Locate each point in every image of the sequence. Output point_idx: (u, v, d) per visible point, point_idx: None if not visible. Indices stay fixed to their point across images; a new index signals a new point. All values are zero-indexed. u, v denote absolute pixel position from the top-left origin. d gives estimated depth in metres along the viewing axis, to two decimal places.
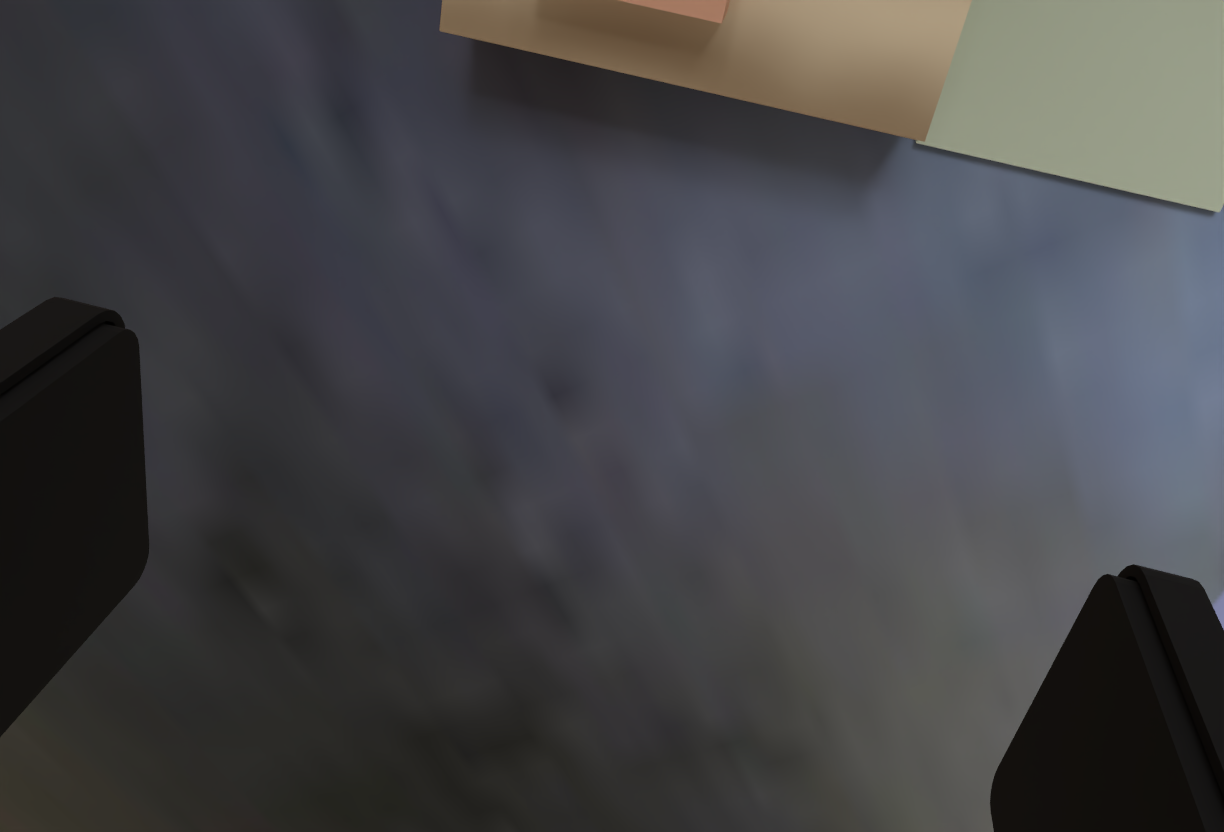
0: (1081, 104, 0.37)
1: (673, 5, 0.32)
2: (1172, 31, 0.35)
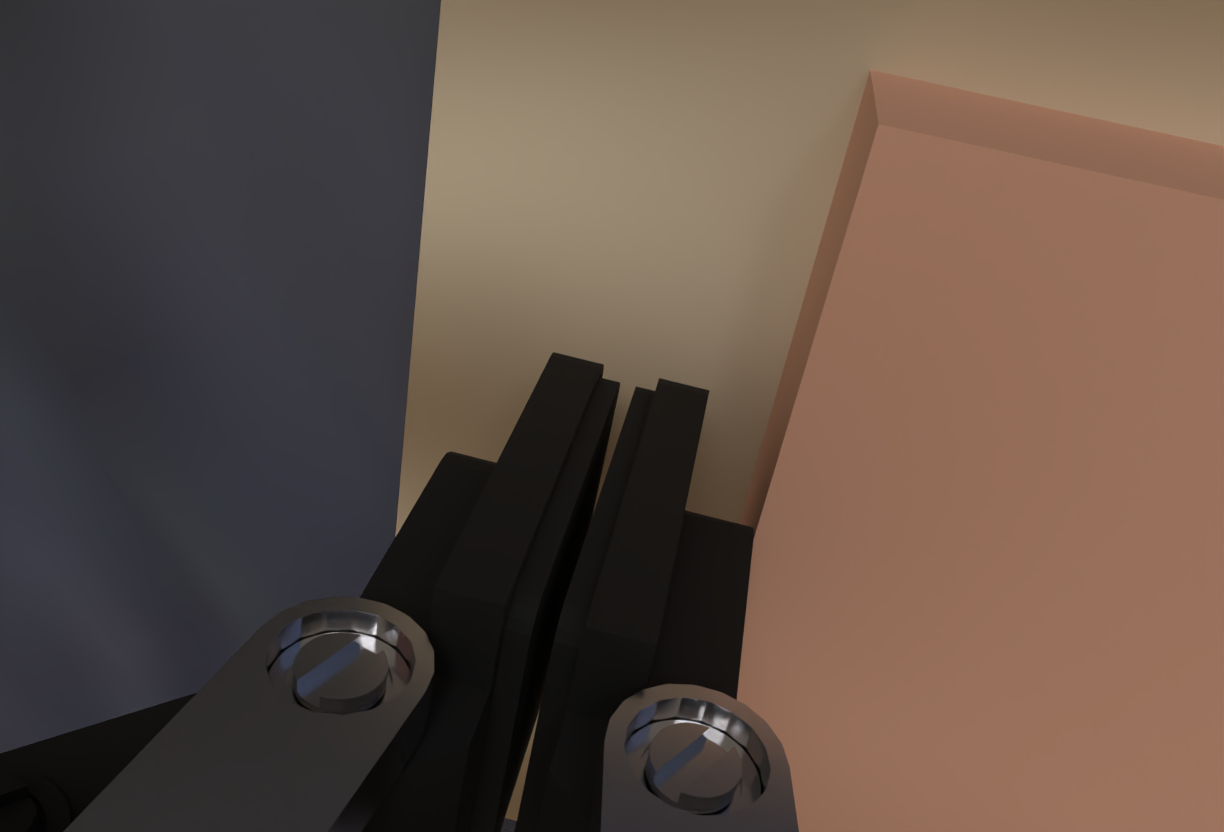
0: None
1: None
2: None
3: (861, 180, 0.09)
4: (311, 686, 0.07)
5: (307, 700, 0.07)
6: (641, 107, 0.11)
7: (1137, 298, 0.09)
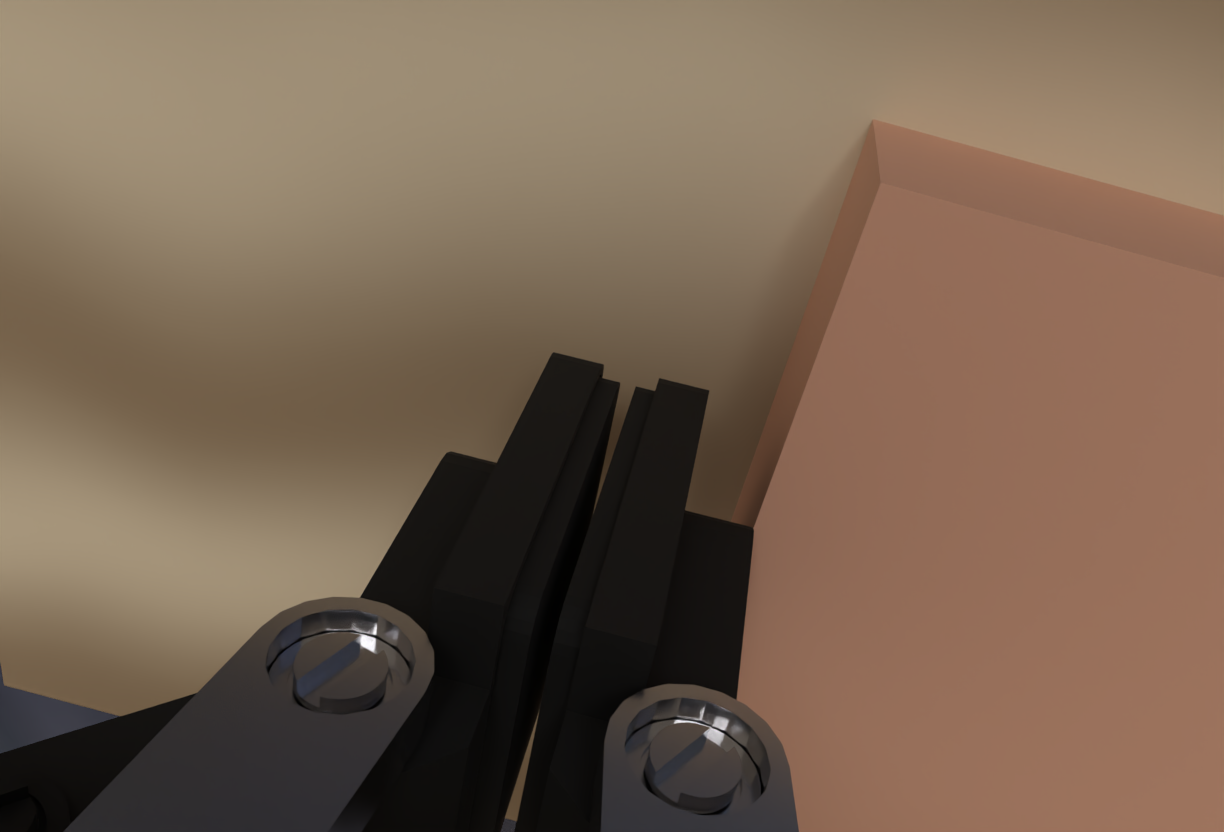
0: None
1: None
2: None
3: (861, 235, 0.09)
4: (311, 685, 0.07)
5: (307, 699, 0.07)
6: None
7: (1121, 362, 0.09)
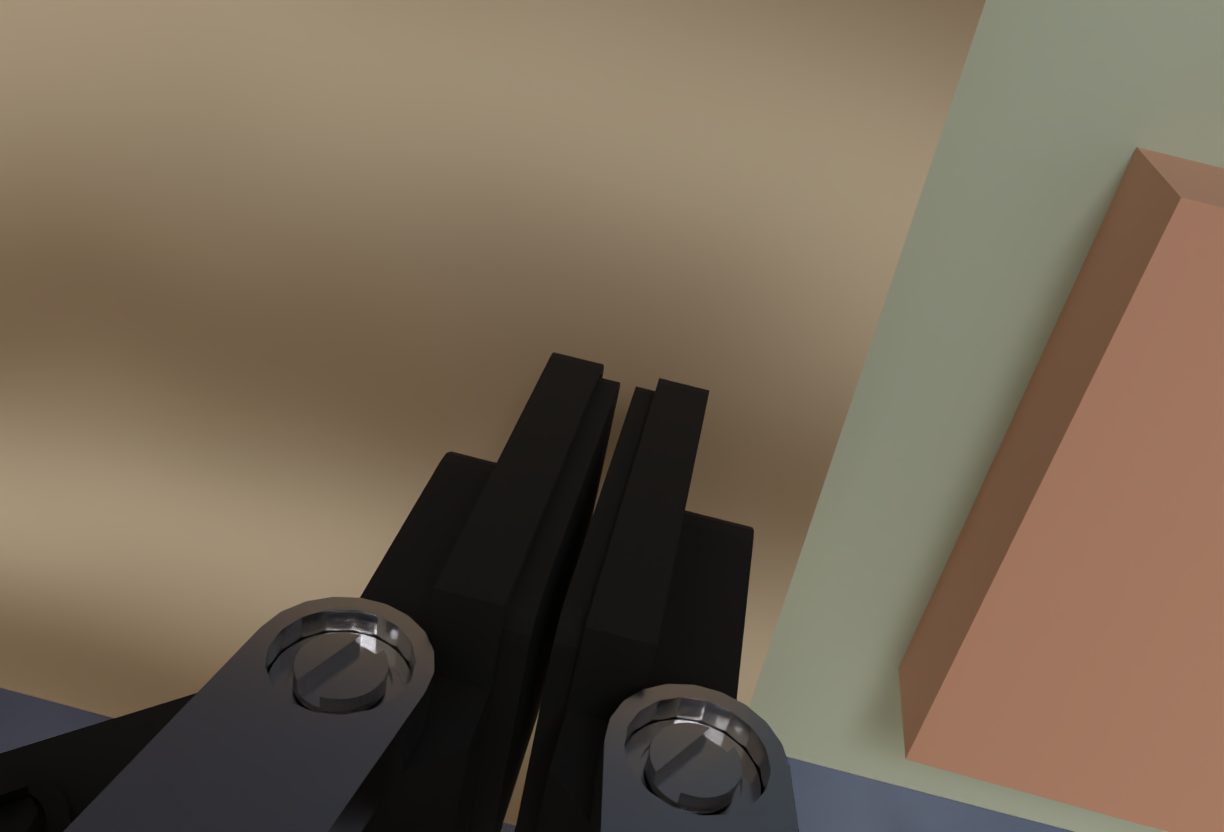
0: None
1: None
2: None
3: None
4: (311, 686, 0.07)
5: (307, 700, 0.07)
6: None
7: None
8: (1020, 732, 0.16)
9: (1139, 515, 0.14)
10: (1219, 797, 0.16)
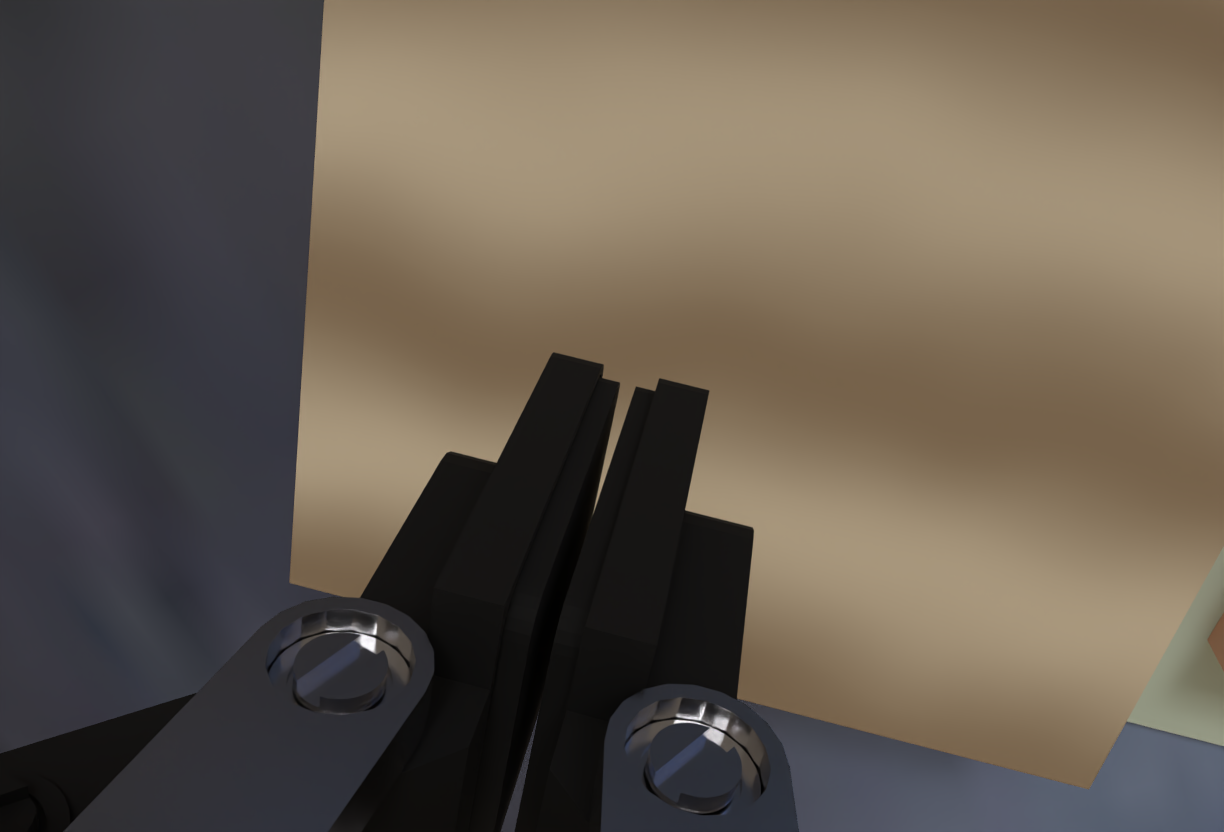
0: None
1: None
2: None
3: None
4: (311, 686, 0.07)
5: (307, 700, 0.07)
6: (453, 61, 0.17)
7: None
8: None
9: None
10: None
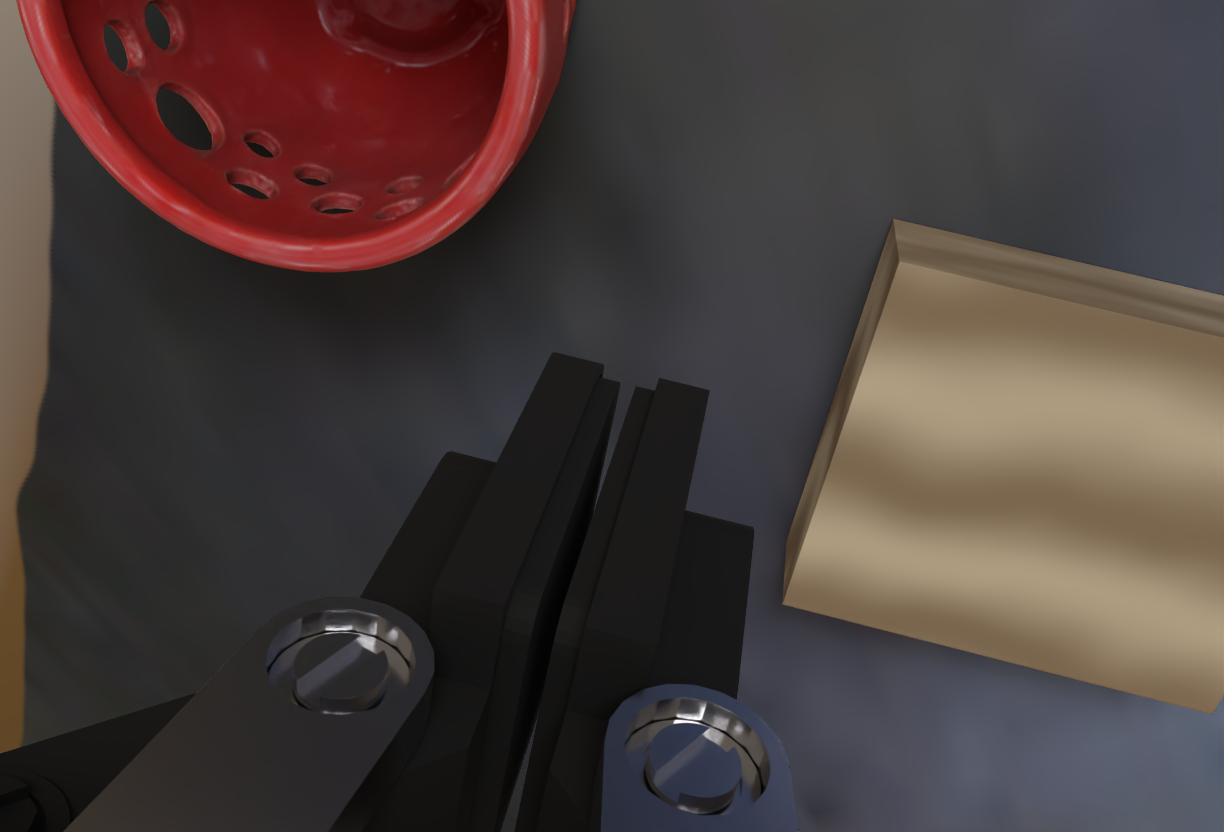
0: None
1: None
2: None
3: None
4: (311, 686, 0.07)
5: (307, 700, 0.07)
6: (931, 371, 0.35)
7: None
8: None
9: None
10: None
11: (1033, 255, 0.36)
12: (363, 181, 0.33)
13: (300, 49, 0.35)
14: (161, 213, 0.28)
